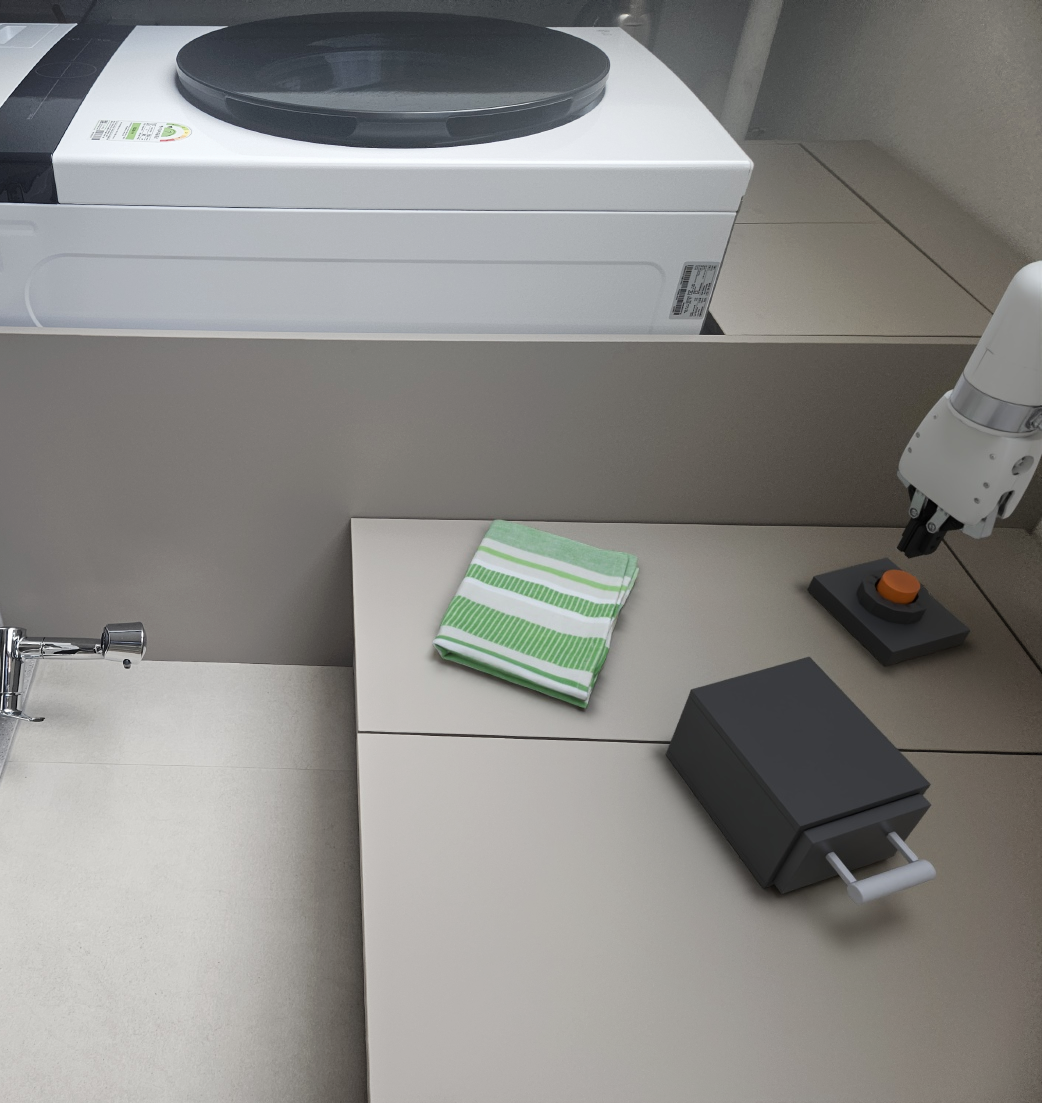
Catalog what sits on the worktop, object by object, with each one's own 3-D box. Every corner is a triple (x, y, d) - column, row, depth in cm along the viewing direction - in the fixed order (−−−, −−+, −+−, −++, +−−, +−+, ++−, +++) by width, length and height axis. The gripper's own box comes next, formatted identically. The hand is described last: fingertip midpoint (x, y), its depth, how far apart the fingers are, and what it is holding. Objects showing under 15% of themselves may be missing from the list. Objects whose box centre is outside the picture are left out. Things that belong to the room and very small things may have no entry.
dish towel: (639, 570, 111) (644, 552, 109) (591, 714, 95) (596, 697, 93) (491, 527, 117) (493, 510, 115) (422, 657, 101) (424, 639, 99)
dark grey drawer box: (885, 847, 84) (931, 784, 77) (762, 888, 81) (800, 826, 75) (776, 721, 94) (809, 656, 88) (665, 754, 91) (690, 689, 85)
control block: (962, 644, 101) (979, 617, 99) (884, 666, 99) (899, 640, 97) (879, 571, 110) (893, 545, 107) (806, 590, 108) (819, 564, 105)
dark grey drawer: (932, 900, 79) (974, 850, 74) (816, 941, 77) (852, 892, 71) (790, 735, 92) (817, 682, 87) (687, 765, 89) (709, 713, 84)
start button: (921, 600, 101) (928, 588, 100) (893, 607, 101) (900, 596, 99) (896, 578, 104) (902, 566, 103) (869, 585, 103) (875, 573, 102)
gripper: (1106, 439, 82) (1001, 592, 94) (968, 353, 92) (890, 500, 105) (1037, 455, 80) (940, 608, 92) (904, 365, 91) (833, 513, 103)
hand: (913, 550), depth 98 cm, fingers closed
